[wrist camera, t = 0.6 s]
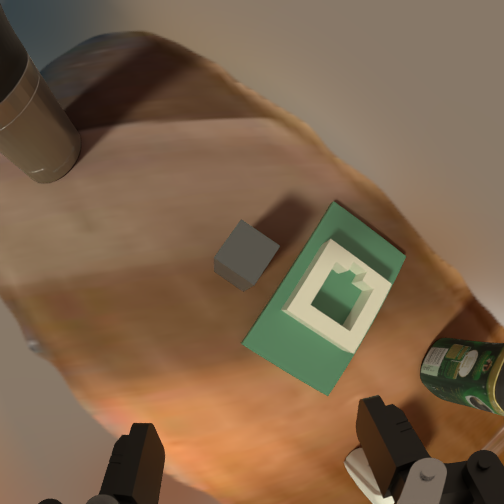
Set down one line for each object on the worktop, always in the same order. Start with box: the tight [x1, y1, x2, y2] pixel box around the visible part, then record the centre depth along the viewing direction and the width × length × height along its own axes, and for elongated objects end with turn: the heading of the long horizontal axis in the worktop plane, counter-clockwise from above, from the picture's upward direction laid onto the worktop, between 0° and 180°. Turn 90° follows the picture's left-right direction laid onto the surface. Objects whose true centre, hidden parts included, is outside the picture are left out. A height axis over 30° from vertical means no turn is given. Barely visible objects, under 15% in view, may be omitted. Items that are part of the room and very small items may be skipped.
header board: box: [241, 201, 406, 396], centre depth 35 cm, size 12×20×4 cm, turn 146°
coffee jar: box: [420, 338, 504, 416], centre depth 28 cm, size 10×8×19 cm
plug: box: [214, 220, 280, 292], centre depth 32 cm, size 4×5×10 cm
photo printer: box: [344, 448, 394, 504], centre depth 28 cm, size 10×4×12 cm, turn 32°
